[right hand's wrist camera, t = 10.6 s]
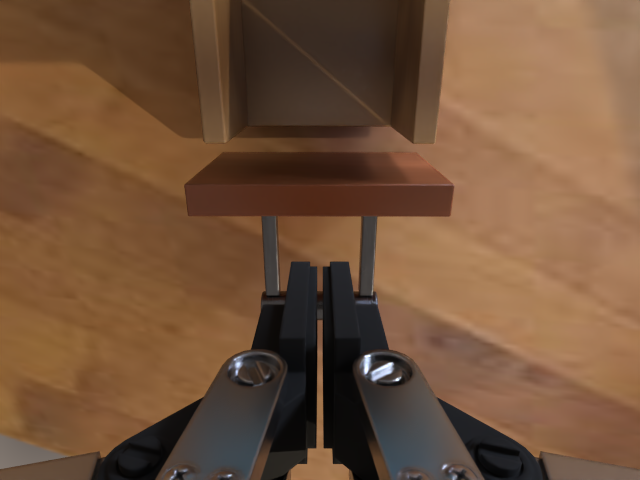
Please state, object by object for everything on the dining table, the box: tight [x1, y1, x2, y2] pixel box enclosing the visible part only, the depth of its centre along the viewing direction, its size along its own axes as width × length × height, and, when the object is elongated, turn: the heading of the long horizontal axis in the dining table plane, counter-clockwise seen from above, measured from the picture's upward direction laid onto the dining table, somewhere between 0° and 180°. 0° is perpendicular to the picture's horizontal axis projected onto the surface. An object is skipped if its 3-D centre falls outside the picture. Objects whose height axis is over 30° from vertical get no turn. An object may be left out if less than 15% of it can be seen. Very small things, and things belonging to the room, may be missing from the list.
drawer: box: [184, 0, 454, 320], centre depth 15 cm, size 25×10×6 cm, turn 0°
